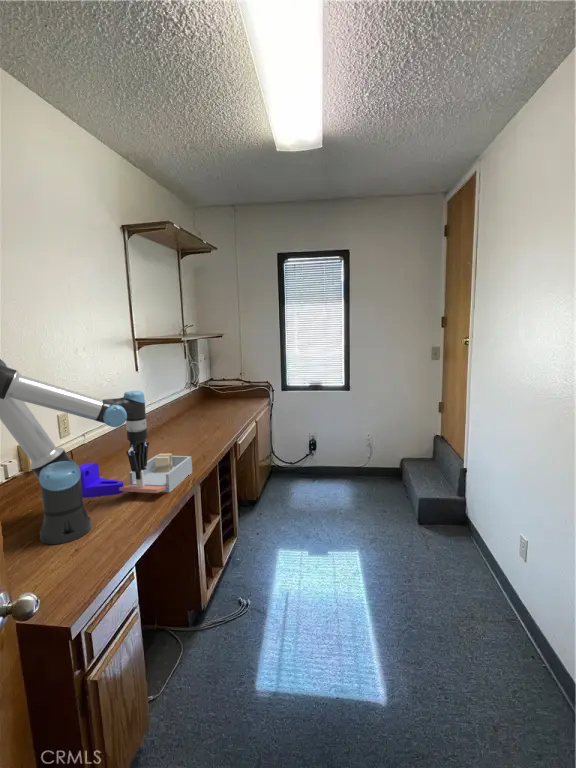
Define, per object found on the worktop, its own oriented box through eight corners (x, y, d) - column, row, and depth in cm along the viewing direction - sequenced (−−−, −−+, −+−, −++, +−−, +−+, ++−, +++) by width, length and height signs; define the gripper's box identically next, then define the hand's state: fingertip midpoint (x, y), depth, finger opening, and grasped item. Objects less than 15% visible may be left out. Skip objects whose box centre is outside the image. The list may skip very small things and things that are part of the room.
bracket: (75, 497, 159) (72, 470, 158) (90, 486, 170) (88, 461, 168) (116, 498, 158) (114, 470, 156) (129, 487, 168) (127, 461, 167)
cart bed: (168, 494, 160) (167, 475, 159) (128, 491, 163) (126, 473, 162) (192, 472, 184) (191, 456, 183) (157, 470, 187) (155, 455, 186)
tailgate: (156, 493, 153) (156, 489, 153) (119, 491, 155) (119, 487, 156) (166, 490, 160) (166, 486, 161) (130, 488, 163) (130, 484, 163)
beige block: (168, 472, 177) (167, 457, 176) (156, 472, 177) (154, 458, 176) (172, 467, 183) (171, 453, 182) (160, 467, 183) (159, 453, 182)
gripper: (136, 434, 146) (140, 493, 150) (153, 425, 159) (157, 480, 162) (118, 433, 148) (122, 491, 151) (137, 425, 160) (141, 479, 164)
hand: (140, 485), depth 157 cm, fingers closed
